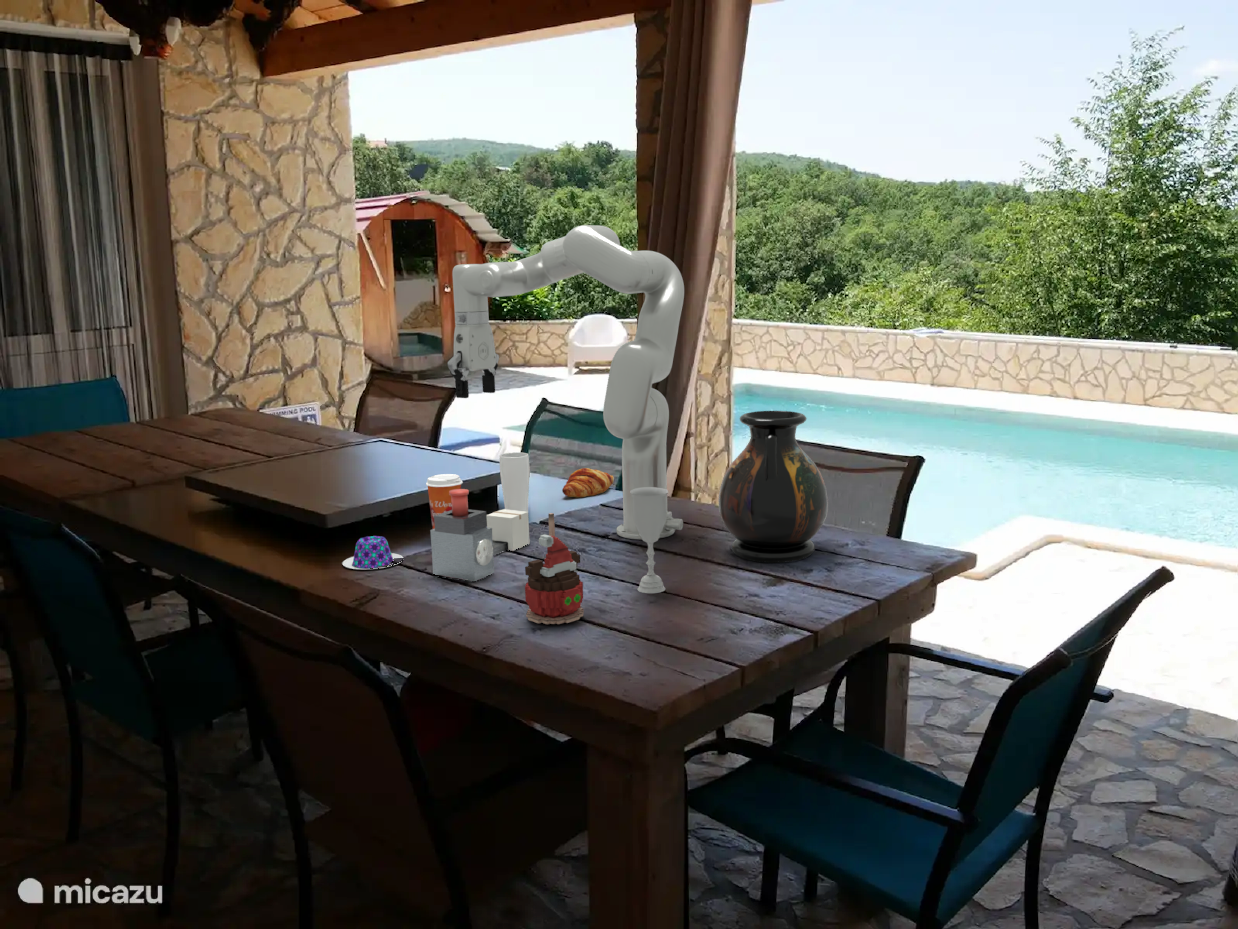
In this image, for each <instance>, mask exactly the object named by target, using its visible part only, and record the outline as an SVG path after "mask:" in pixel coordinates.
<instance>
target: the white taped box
mask: <svg viewBox="0 0 1238 929" xmlns="http://www.w3.org/2000/svg"><path fill="white" fill-rule="evenodd" d="M486 515H487V527H488V528H492V540H493V542H495V541H503V542H508V550H507V551H509V550H510V552H511V551H512V552H514V551H516V549H517V550H518V548H519V549H521V548H523V546H524V547H526V546H528V545H531V544H530V543H531V541H529V539H530V523H529V511H528V512H525V511H516V510H507V509H505V508H503V509H499V510H497V511H493V512H492V513H489V514H486ZM527 544H528V545H527ZM525 545H526V546H525Z"/></svg>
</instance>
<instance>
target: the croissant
mask: <svg viewBox="0 0 1238 929" xmlns="http://www.w3.org/2000/svg"><path fill="white" fill-rule="evenodd" d="M614 479H615V478H614V475H611V474H609V473H607V472H605V471H604V472H603V471H602V470H598V469H592V468H589V467H585V468H584V467H582V468H580V469H577V470H574V471H573V472H572V473H571V474H570V475H569V477H568V479H567V481H566V482H565V484H564V486H563V488H562V490H561V491H562V493H563V495H565V496H567V497H568V498H585V497H592V496H597V495H600V494H603V493H605V492H606V491H608V489H609V488H610V487H611V486H612V485H613V483H614V481H615V480H614Z"/></svg>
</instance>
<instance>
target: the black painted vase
mask: <svg viewBox="0 0 1238 929" xmlns="http://www.w3.org/2000/svg"><path fill="white" fill-rule="evenodd" d="M807 419H808V417H807V416H806V415H805V414H804V413H801V412H797V411H791V410H758V411H751V412H746V413H743V414H742V415H741V416H740V417H739V421H740V422H741V423H742V424H744V425H746V426H748V427H749V432H750V439H749V441H748V442H747V445H746V446H745V447H744V448H743V450H742V451H741V452H740V453H739V454H738V456H737V457H736V458H735V459H734V460H733V461H732V462H731V464H730V465H729V466H728V468H727V469H726V471H725V473H724V476H723V478H722V481H721V483H720V487H719V488H720V489H719V494H718V511H719V512H718V513H719V517H720V518H721V521H722V524H723V525H724V527H725V529H726V530H727V531H728V532H729V533H730V534H731V536H733V538H734V540H733V542H732V543H731V550H732V552H733V553H734V555H736V556H737V557H740V558H742V559H744V560H748V561H752V562H759V563H767V564H768V563H771V564H772V563H773V564H779V563H792V562H798V561H800V560H804V559H806V558H808V557H809V556H811V555H813V553H814V551H815V550H816V547H815V545H814V542H813V541H812V540H811V539H813V537H815V535H817V533H819V531H820V529H821V528H822V527H823V525H824V523H825V521H826V518H827V516H828V513H829V497H828V492H827V486H826V483H825V479H824V478H823V475H822V473H821V471H820V469H819V468H818V465H817V464H816V463H815V461H813V460H812V458H811V457H810V456H809V455H808V454H807V453H806V452H805V451H804V450H803V449H802V448H801V446H800V444H799V443H798V442H797V439H796V432H797V428H798V426H799V425H803V424H804V423H805V422H806V421H807Z"/></svg>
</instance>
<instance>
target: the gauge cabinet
mask: <svg viewBox="0 0 1238 929" xmlns="http://www.w3.org/2000/svg"><path fill="white" fill-rule="evenodd" d="M487 515H488V514H487V510H478V509H469V508H468V515H466V516H460V517H458V516H453V515H452V510H450V511H447V512H444V513H441V514H438V515H435V516H434V524H435V529H433V528H432V529H430V530H429V531H430V544H431V546H430V547H431V558H432V559H431V561H432V563H431V564H432V575H433V574H435V575H444V576H445V575H446V576H450V577H455V578H463V579H468V580H472V581H476V582H478V581H477V580H478V579H480V578H483V579H485V578H487V577H486V576H488V575H490V576H492V575H493V574H492V573H494V574H495V563H494V561H495V560H494V556H493V540H492V528H488V527H487ZM491 574H492V575H491ZM484 577H485V578H484ZM488 577H489V576H488ZM472 581H471V582H472Z"/></svg>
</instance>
